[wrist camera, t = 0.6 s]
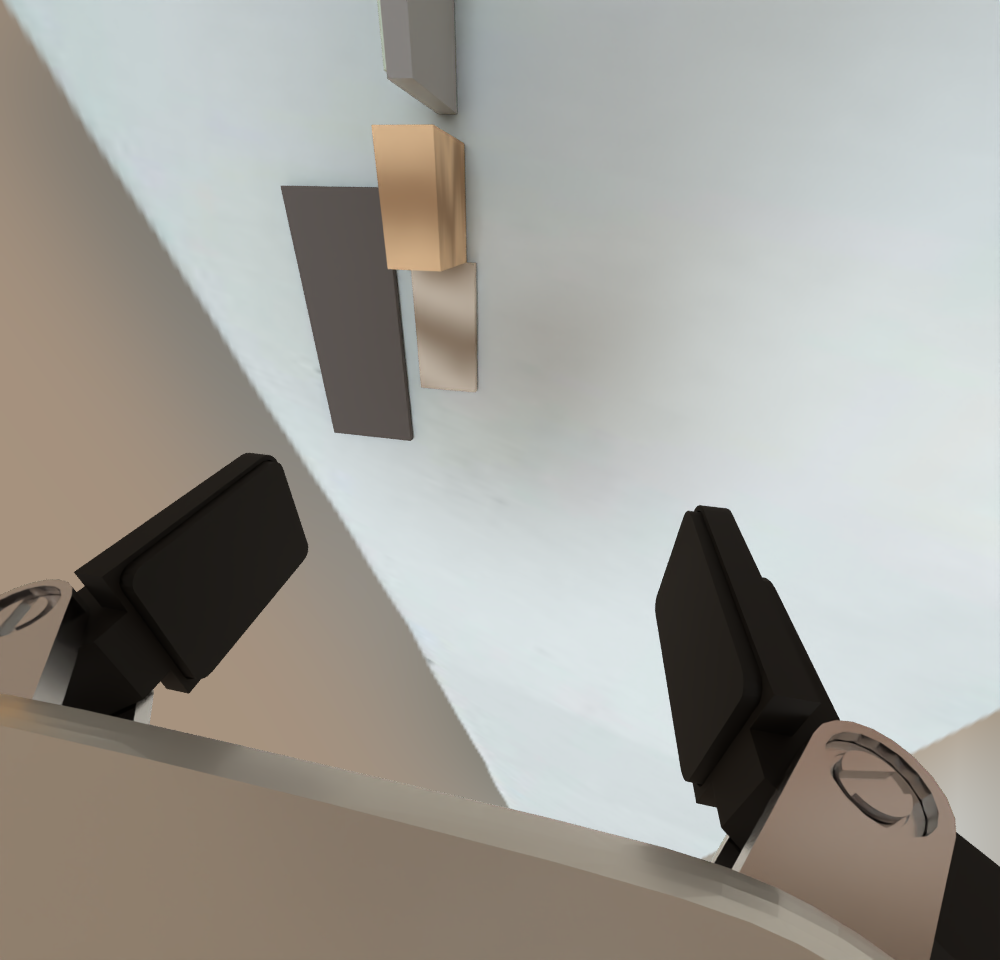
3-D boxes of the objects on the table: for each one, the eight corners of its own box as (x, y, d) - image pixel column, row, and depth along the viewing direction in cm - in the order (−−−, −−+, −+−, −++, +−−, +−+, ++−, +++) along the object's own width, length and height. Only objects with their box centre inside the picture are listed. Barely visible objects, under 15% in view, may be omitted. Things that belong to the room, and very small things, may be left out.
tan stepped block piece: (403, 143, 28) (358, 124, 22) (475, 143, 27) (446, 124, 22) (423, 385, 37) (394, 413, 32) (477, 389, 36) (457, 419, 31)
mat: (285, 186, 30) (280, 185, 30) (386, 188, 29) (383, 187, 29) (337, 429, 41) (334, 432, 41) (412, 438, 40) (410, 440, 40)
